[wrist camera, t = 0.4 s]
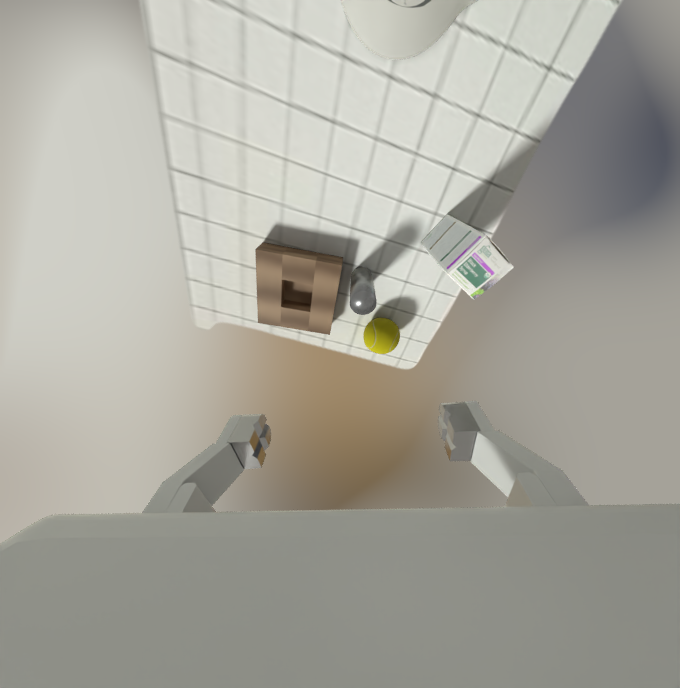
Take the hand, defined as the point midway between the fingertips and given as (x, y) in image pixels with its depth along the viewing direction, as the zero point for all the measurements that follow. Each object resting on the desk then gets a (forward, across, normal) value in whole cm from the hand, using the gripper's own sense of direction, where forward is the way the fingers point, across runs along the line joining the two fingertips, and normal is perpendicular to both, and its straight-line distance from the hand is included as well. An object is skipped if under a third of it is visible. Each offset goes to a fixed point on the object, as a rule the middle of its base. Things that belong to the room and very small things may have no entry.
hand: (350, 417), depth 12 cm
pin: (+38, -1, +4) cm, 38 cm away
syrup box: (+37, -15, -1) cm, 40 cm away
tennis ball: (+39, -4, +15) cm, 42 cm away
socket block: (+38, +10, +5) cm, 39 cm away
